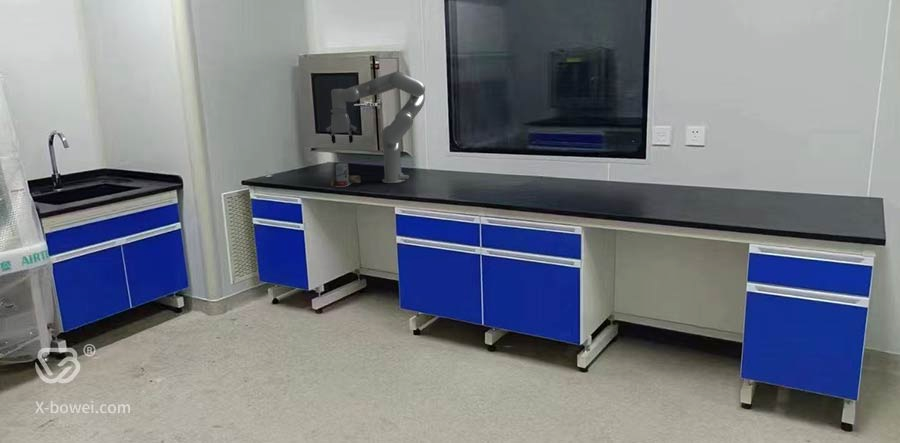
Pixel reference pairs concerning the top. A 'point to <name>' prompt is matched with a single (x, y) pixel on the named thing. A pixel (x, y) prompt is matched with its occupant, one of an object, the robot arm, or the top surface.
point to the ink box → (342, 174)
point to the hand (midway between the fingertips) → (342, 142)
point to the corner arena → (351, 180)
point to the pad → (344, 186)
